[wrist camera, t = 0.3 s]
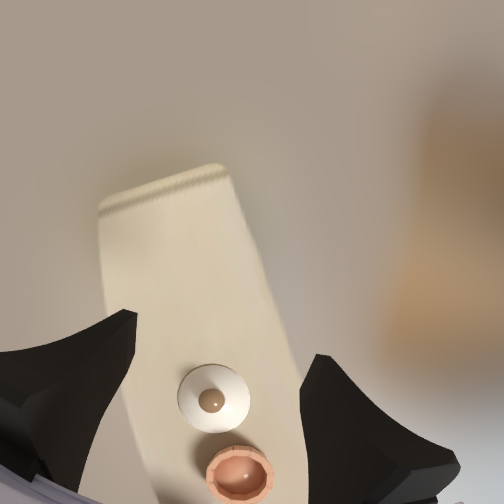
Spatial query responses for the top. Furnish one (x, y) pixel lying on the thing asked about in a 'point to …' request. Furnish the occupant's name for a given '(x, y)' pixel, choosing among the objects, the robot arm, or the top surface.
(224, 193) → the top surface
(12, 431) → the robot arm
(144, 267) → the top surface
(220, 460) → the bowl
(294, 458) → the top surface
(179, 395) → the lid
